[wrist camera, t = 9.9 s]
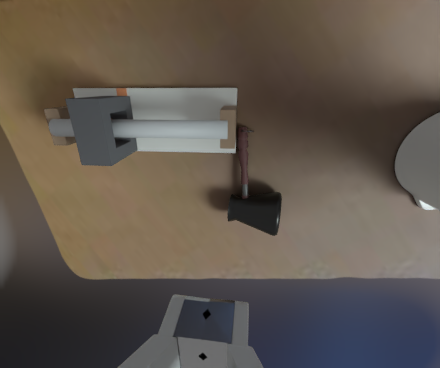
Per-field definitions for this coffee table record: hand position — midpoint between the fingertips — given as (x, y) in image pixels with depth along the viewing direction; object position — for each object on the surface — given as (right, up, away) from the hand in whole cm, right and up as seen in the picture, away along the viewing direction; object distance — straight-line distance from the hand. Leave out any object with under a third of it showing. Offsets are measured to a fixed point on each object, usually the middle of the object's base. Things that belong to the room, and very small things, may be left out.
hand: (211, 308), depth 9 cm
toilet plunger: (+7, +6, +32) cm, 34 cm away
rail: (-10, +16, +29) cm, 35 cm away
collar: (-15, +14, +26) cm, 33 cm away
